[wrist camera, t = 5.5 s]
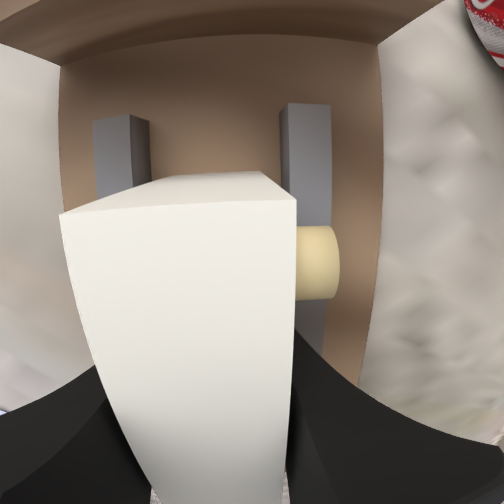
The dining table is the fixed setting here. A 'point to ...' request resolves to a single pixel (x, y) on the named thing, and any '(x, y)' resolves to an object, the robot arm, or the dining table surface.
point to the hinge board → (231, 115)
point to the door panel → (199, 324)
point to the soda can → (489, 25)
